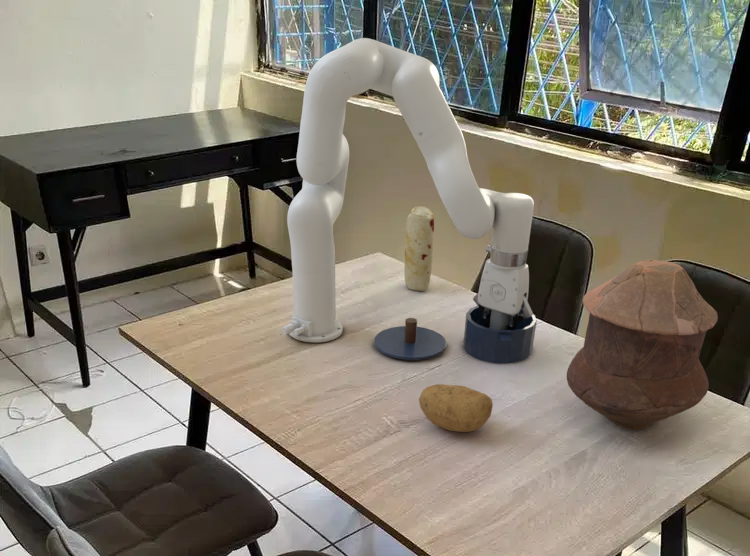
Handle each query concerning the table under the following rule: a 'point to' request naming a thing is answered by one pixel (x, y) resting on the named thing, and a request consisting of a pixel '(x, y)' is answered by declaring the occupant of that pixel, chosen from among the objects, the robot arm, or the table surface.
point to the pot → (498, 339)
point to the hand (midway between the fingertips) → (498, 336)
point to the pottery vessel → (643, 346)
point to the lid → (410, 342)
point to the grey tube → (498, 320)
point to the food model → (419, 248)
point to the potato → (455, 407)
